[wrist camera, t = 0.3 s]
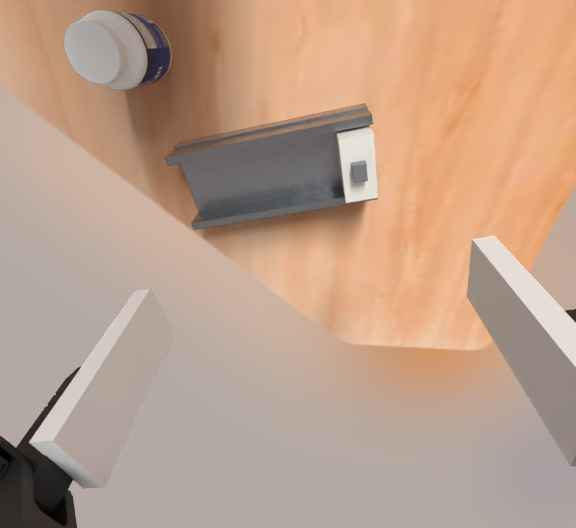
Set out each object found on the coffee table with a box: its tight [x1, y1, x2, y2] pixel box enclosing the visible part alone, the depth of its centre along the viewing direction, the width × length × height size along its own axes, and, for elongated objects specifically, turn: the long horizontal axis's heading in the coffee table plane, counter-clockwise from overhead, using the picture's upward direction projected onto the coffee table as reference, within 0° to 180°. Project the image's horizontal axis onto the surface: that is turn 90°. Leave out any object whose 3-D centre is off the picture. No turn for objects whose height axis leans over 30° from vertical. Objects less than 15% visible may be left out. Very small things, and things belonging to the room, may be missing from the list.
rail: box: [165, 104, 378, 230], centre depth 35 cm, size 8×20×5 cm, turn 102°
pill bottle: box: [64, 10, 172, 90], centre depth 28 cm, size 5×5×10 cm
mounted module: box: [335, 125, 378, 203], centre depth 32 cm, size 6×3×6 cm, turn 12°
